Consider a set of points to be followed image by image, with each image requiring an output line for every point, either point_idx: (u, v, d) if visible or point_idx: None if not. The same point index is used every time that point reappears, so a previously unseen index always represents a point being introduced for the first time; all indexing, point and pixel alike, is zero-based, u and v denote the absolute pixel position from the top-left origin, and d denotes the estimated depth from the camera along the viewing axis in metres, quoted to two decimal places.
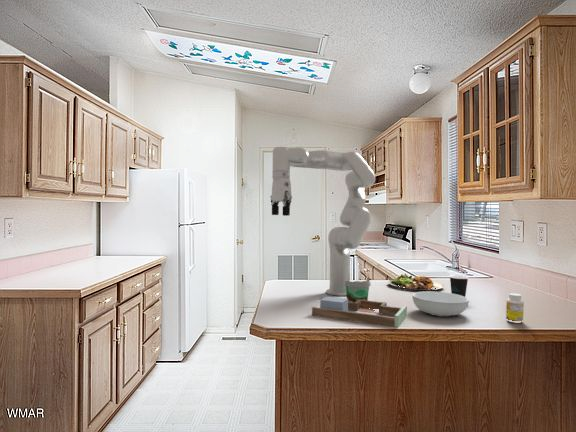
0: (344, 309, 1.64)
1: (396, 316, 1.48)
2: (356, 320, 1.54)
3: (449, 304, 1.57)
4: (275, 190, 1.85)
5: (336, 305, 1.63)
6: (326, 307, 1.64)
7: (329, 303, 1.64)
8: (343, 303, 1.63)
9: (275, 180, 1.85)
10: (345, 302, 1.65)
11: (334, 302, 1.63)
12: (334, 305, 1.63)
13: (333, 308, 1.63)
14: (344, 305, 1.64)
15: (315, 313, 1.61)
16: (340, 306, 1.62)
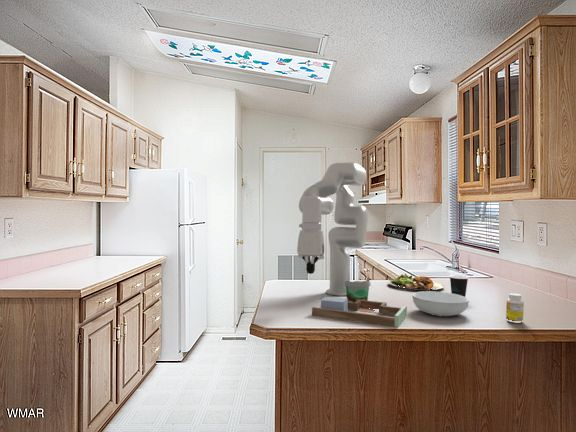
0: (345, 309, 1.64)
1: (396, 316, 1.48)
2: (356, 320, 1.54)
3: (449, 304, 1.57)
4: None
5: (337, 305, 1.63)
6: (327, 307, 1.64)
7: (330, 303, 1.64)
8: (344, 303, 1.63)
9: None
10: (345, 302, 1.65)
11: (335, 302, 1.63)
12: (335, 305, 1.63)
13: (334, 308, 1.63)
14: (345, 305, 1.64)
15: (315, 313, 1.61)
16: (341, 306, 1.62)
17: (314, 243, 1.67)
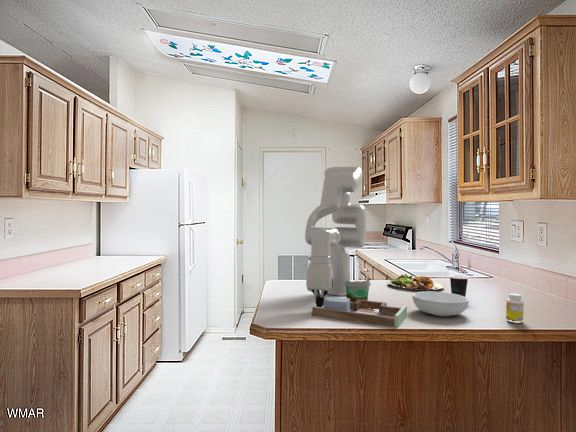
0: (347, 309, 1.64)
1: (396, 316, 1.48)
2: (356, 320, 1.54)
3: (449, 304, 1.57)
4: None
5: (340, 305, 1.62)
6: (330, 307, 1.63)
7: (333, 304, 1.63)
8: (347, 303, 1.62)
9: None
10: (348, 302, 1.65)
11: (338, 302, 1.62)
12: (338, 305, 1.62)
13: (337, 308, 1.62)
14: (347, 305, 1.64)
15: (315, 313, 1.61)
16: (345, 306, 1.62)
17: (323, 277, 1.65)
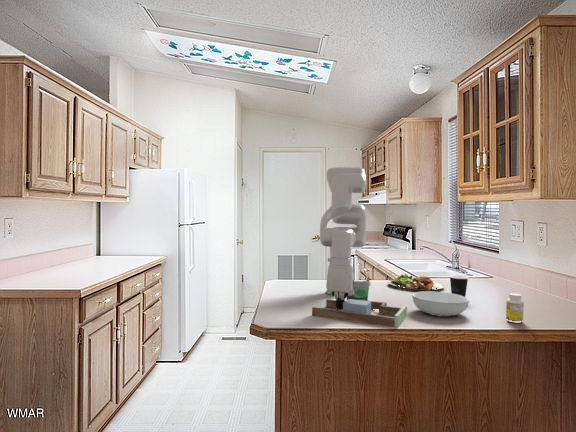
0: (368, 312, 1.59)
1: (396, 316, 1.48)
2: (356, 320, 1.54)
3: (449, 304, 1.57)
4: None
5: (360, 308, 1.58)
6: (349, 310, 1.60)
7: (352, 306, 1.59)
8: (367, 306, 1.58)
9: None
10: (369, 305, 1.60)
11: (357, 305, 1.58)
12: (357, 308, 1.58)
13: (356, 311, 1.58)
14: (368, 308, 1.59)
15: (315, 313, 1.61)
16: (364, 309, 1.57)
17: (344, 279, 1.62)
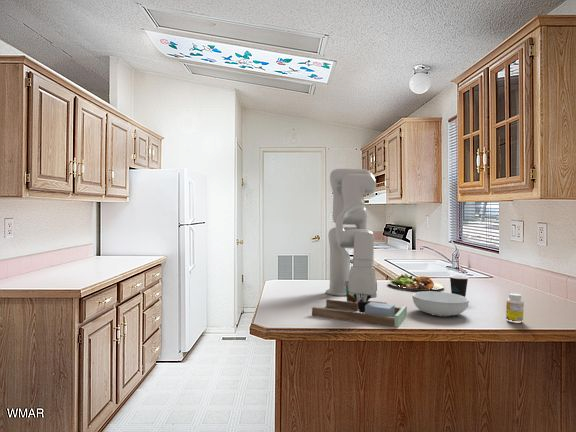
0: (391, 316, 1.55)
1: (396, 316, 1.48)
2: (356, 320, 1.54)
3: (449, 304, 1.57)
4: None
5: (382, 311, 1.54)
6: (371, 313, 1.56)
7: (374, 309, 1.55)
8: (390, 309, 1.53)
9: None
10: (392, 308, 1.56)
11: (380, 308, 1.54)
12: (380, 311, 1.54)
13: (379, 314, 1.54)
14: (391, 311, 1.55)
15: (315, 313, 1.61)
16: (387, 312, 1.53)
17: (367, 281, 1.58)
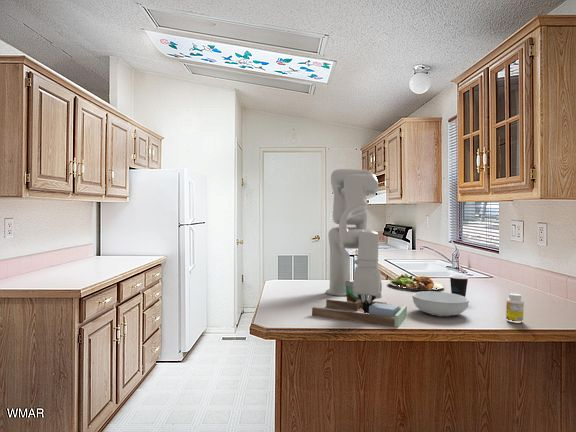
0: None
1: (396, 316, 1.48)
2: (356, 320, 1.54)
3: (449, 304, 1.57)
4: None
5: (386, 312, 1.52)
6: (375, 314, 1.55)
7: (378, 310, 1.54)
8: (394, 310, 1.52)
9: None
10: (396, 309, 1.54)
11: (384, 309, 1.53)
12: (384, 312, 1.53)
13: (383, 315, 1.53)
14: (395, 313, 1.53)
15: (315, 313, 1.61)
16: (391, 314, 1.52)
17: (372, 282, 1.57)
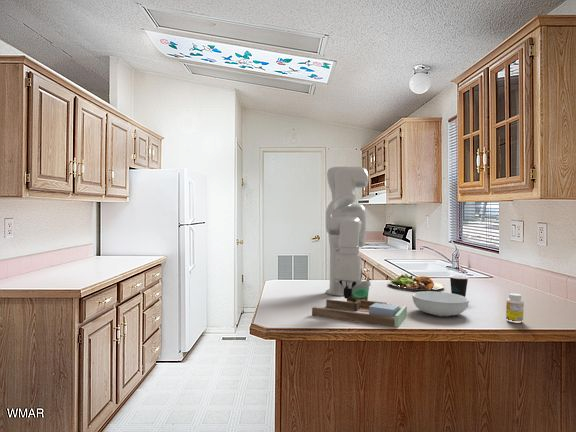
0: None
1: (396, 316, 1.48)
2: (356, 320, 1.54)
3: (449, 304, 1.57)
4: None
5: (386, 312, 1.52)
6: (375, 314, 1.55)
7: (378, 310, 1.54)
8: (394, 310, 1.52)
9: None
10: (396, 309, 1.54)
11: (384, 309, 1.53)
12: (384, 312, 1.53)
13: (383, 315, 1.53)
14: (395, 312, 1.53)
15: (315, 313, 1.61)
16: (391, 314, 1.52)
17: (352, 268, 1.61)
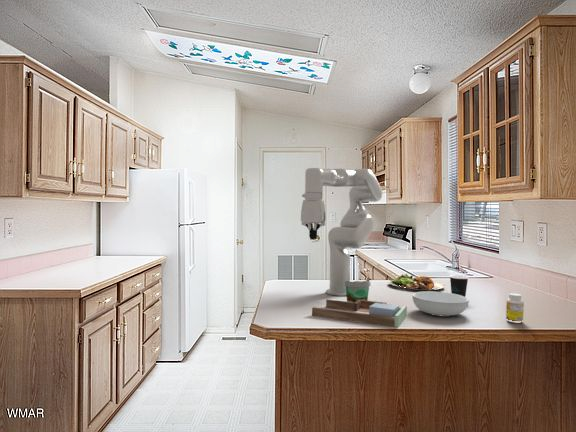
0: None
1: (396, 316, 1.48)
2: (356, 320, 1.54)
3: (449, 304, 1.57)
4: None
5: (386, 312, 1.52)
6: (375, 314, 1.54)
7: (378, 310, 1.54)
8: (394, 310, 1.52)
9: None
10: (396, 309, 1.54)
11: (384, 309, 1.53)
12: (384, 312, 1.53)
13: (383, 315, 1.53)
14: (395, 312, 1.53)
15: (315, 313, 1.61)
16: (391, 314, 1.52)
17: (316, 211, 1.81)
